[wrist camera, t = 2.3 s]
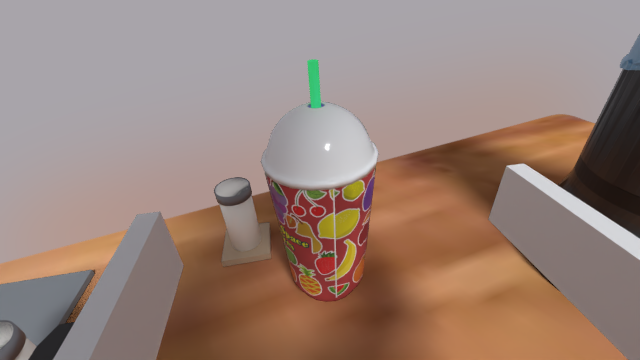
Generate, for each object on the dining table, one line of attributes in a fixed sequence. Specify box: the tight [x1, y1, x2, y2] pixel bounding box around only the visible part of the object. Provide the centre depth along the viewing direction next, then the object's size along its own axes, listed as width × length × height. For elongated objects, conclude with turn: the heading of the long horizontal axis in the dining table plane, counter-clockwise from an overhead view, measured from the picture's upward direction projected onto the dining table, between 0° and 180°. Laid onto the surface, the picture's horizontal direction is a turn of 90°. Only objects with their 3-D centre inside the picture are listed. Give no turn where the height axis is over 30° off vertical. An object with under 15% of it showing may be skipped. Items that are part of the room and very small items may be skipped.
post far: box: [214, 177, 271, 267], centre depth 31 cm, size 5×5×8 cm
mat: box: [0, 270, 95, 346], centre depth 26 cm, size 10×10×1 cm
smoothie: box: [261, 60, 379, 302], centre depth 23 cm, size 8×8×20 cm
